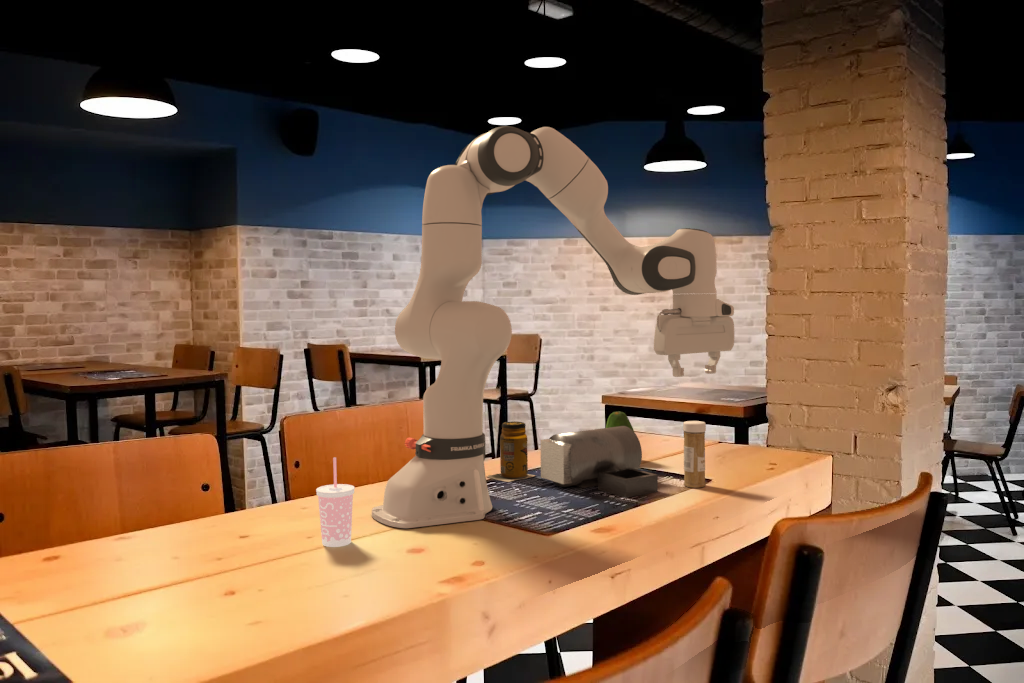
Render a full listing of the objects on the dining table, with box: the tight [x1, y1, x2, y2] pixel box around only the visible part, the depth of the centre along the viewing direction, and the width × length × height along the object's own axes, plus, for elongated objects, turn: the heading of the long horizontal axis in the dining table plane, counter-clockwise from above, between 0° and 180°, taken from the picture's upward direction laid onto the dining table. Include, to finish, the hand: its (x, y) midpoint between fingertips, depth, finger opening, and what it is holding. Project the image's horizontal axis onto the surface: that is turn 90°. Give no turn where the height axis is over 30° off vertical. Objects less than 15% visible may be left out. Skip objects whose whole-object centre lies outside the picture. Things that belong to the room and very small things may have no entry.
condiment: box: [485, 421, 537, 483], centre depth 181 cm, size 7×8×12 cm
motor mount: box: [540, 426, 659, 499], centre depth 172 cm, size 23×21×11 cm
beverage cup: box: [315, 457, 355, 548], centre depth 133 cm, size 6×6×14 cm
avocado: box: [605, 410, 636, 434], centre depth 197 cm, size 8×8×12 cm
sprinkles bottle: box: [682, 420, 707, 489], centre depth 170 cm, size 5×5×14 cm
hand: (694, 375), depth 169 cm, fingers open, 8 cm apart
